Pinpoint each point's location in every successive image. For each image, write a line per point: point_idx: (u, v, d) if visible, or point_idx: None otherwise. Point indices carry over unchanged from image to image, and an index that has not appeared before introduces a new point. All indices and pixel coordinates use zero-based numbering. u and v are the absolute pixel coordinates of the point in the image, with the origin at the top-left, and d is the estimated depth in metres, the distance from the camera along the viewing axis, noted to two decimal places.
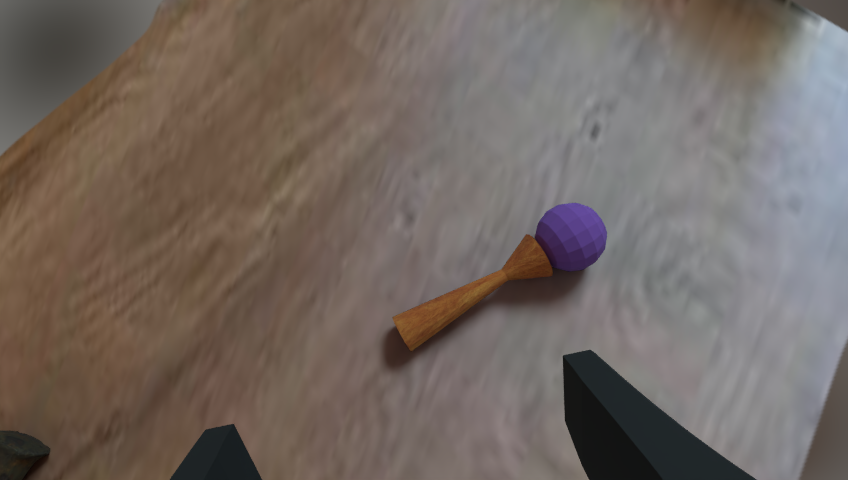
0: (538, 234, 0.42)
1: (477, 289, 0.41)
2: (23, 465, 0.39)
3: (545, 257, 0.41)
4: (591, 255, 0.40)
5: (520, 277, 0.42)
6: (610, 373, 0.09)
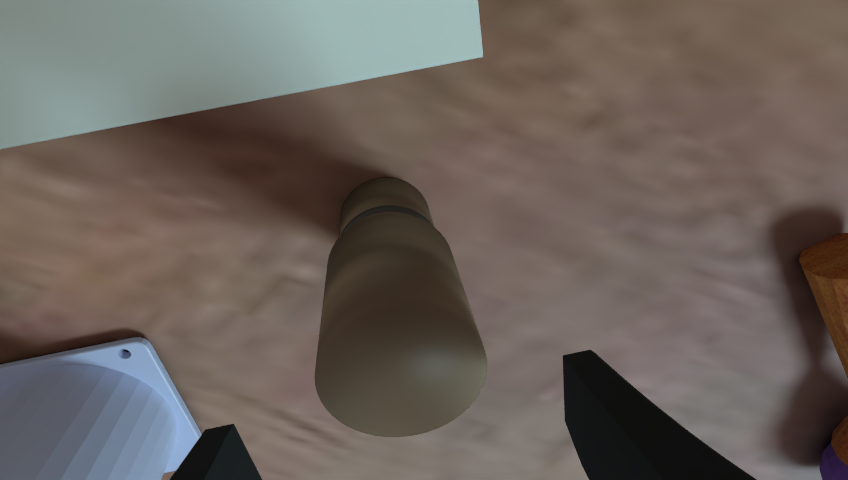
0: None
1: None
2: None
3: None
4: None
5: None
6: (610, 373, 0.09)
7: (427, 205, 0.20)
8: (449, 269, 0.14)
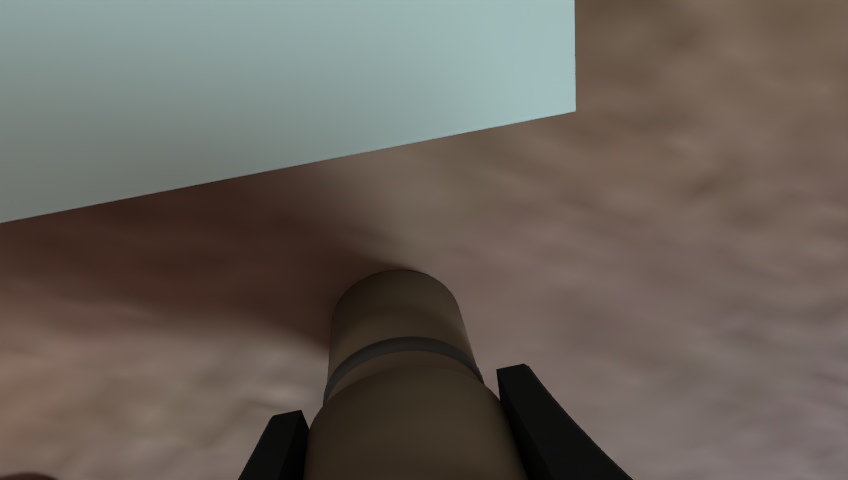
0: None
1: None
2: None
3: None
4: None
5: None
6: (537, 388, 0.09)
7: None
8: None
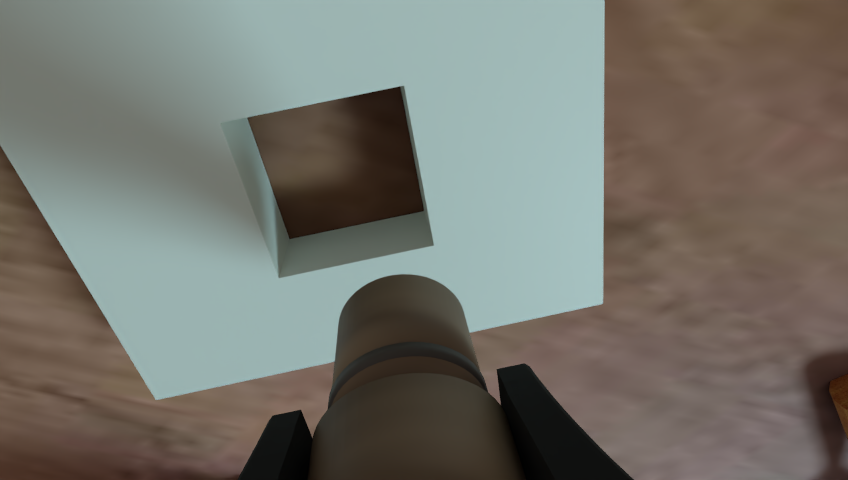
0: None
1: None
2: None
3: None
4: None
5: None
6: (537, 388, 0.09)
7: (461, 306, 0.13)
8: None
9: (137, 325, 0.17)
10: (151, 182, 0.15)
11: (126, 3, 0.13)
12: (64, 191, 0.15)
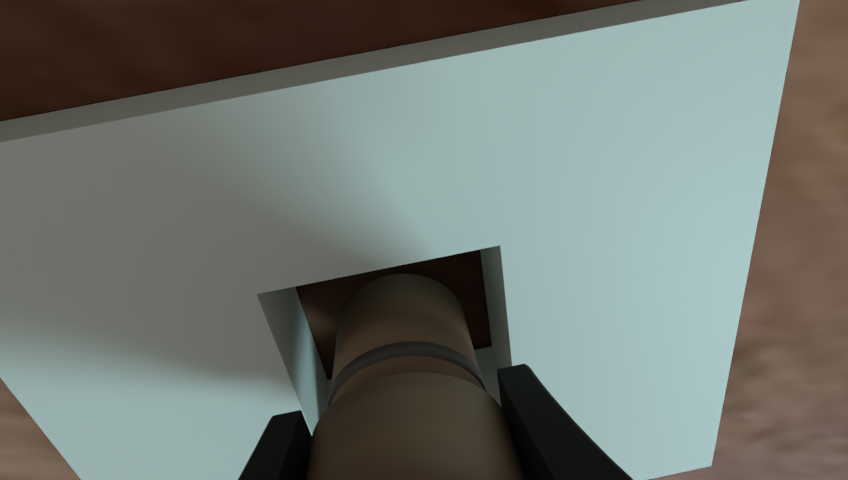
0: None
1: None
2: None
3: None
4: None
5: None
6: (537, 387, 0.09)
7: (460, 306, 0.13)
8: None
9: None
10: (163, 362, 0.11)
11: (133, 158, 0.09)
12: (48, 376, 0.11)
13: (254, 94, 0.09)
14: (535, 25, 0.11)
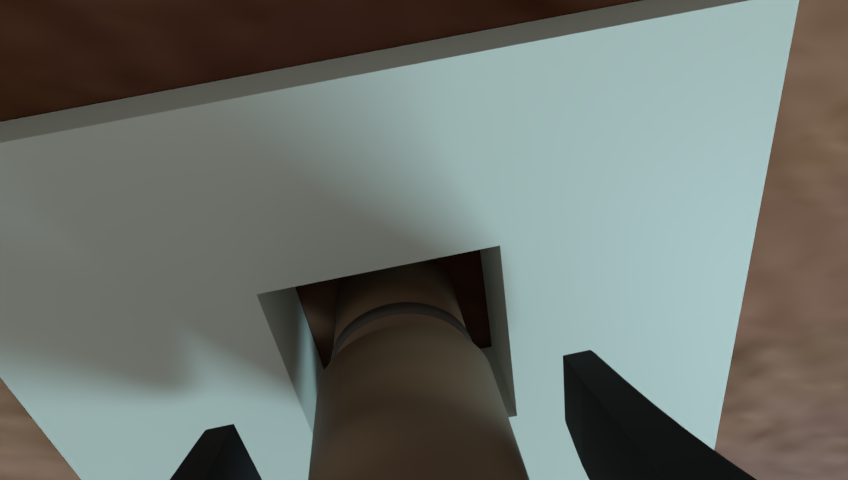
0: None
1: None
2: None
3: None
4: None
5: None
6: (610, 373, 0.09)
7: (449, 278, 0.15)
8: (494, 428, 0.09)
9: None
10: (163, 362, 0.11)
11: (133, 158, 0.09)
12: (48, 376, 0.11)
13: (254, 94, 0.09)
14: (535, 25, 0.11)
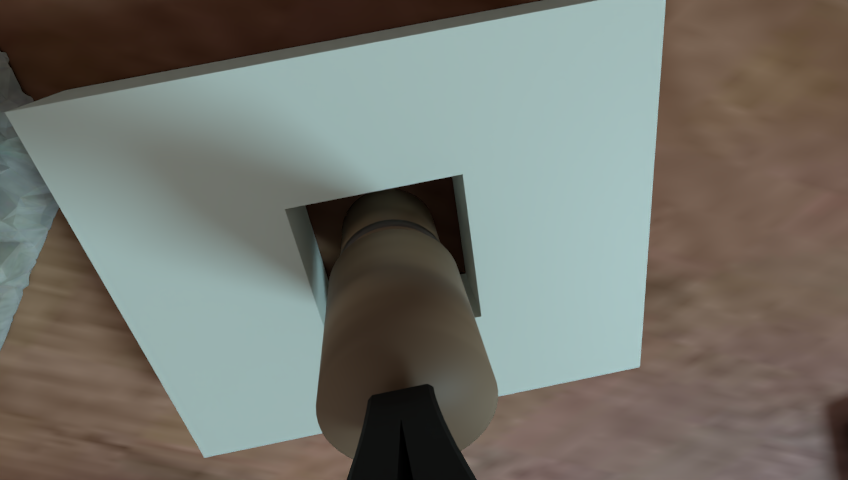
0: None
1: None
2: None
3: None
4: None
5: None
6: (430, 411, 0.09)
7: (430, 213, 0.19)
8: (452, 286, 0.13)
9: (192, 390, 0.18)
10: (215, 262, 0.16)
11: (203, 104, 0.13)
12: (131, 271, 0.15)
13: (287, 59, 0.13)
14: (488, 13, 0.15)
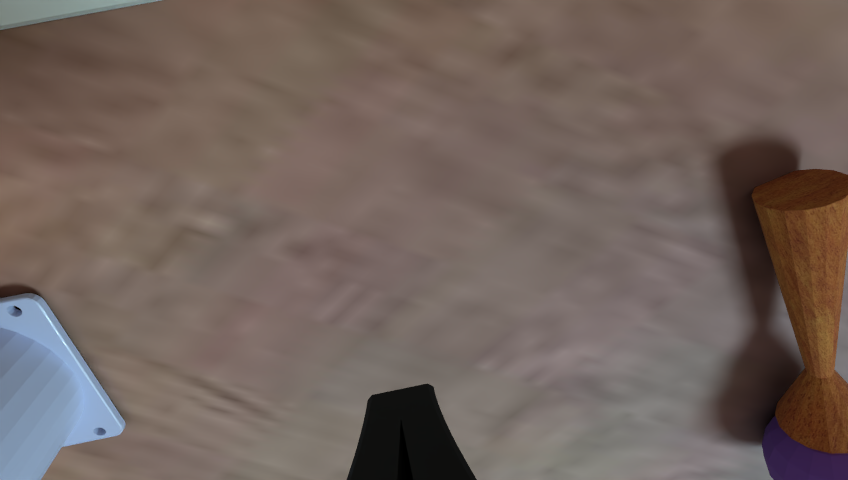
0: None
1: (829, 337, 0.22)
2: None
3: (841, 450, 0.24)
4: None
5: (807, 395, 0.24)
6: (430, 410, 0.09)
7: None
8: None
9: None
10: None
11: None
12: None
13: None
14: None
